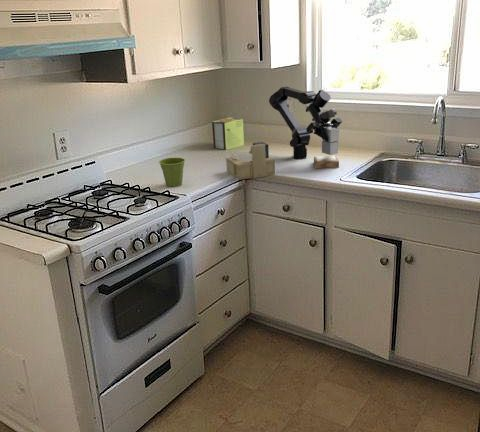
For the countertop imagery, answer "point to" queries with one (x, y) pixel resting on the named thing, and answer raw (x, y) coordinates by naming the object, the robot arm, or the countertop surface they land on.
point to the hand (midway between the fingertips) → (332, 140)
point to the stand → (326, 162)
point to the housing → (331, 141)
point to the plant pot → (172, 170)
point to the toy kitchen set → (252, 164)
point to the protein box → (228, 133)
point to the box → (265, 148)
